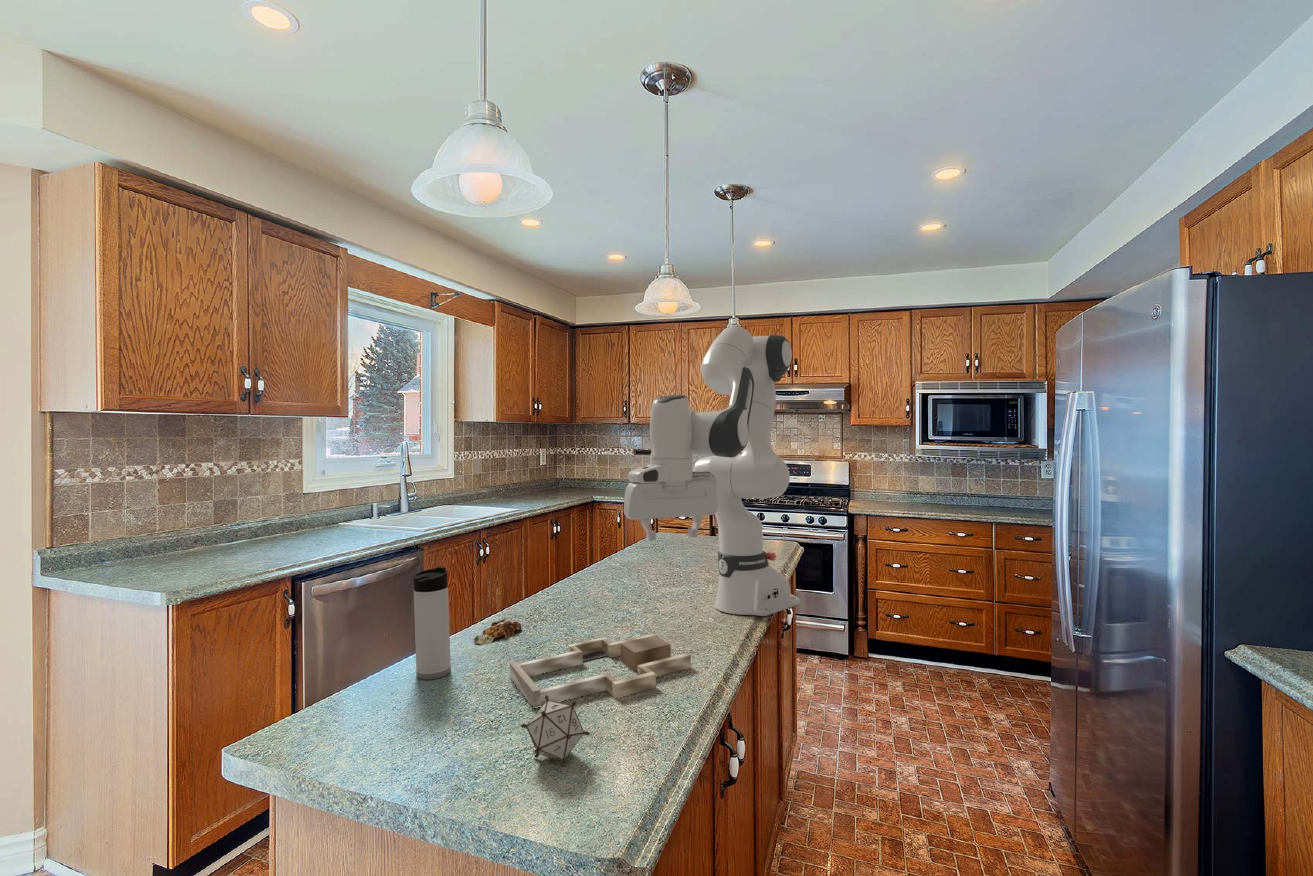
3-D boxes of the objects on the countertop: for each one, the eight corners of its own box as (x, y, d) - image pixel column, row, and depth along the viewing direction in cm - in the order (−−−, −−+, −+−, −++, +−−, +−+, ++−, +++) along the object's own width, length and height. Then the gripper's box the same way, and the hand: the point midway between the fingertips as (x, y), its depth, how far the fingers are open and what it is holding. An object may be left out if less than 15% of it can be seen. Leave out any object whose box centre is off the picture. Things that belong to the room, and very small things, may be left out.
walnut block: (656, 654, 122) (655, 635, 122) (670, 664, 117) (670, 644, 117) (621, 663, 118) (620, 643, 118) (635, 673, 113) (634, 652, 113)
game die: (546, 779, 85) (528, 708, 90) (601, 754, 86) (580, 685, 91) (526, 781, 77) (507, 703, 82) (586, 753, 78) (564, 678, 83)
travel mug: (458, 668, 117) (455, 567, 117) (436, 681, 111) (432, 575, 110) (432, 664, 119) (429, 565, 119) (409, 678, 113) (405, 573, 113)
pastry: (467, 644, 131) (467, 629, 131) (501, 627, 142) (500, 613, 142) (493, 648, 128) (492, 632, 128) (525, 630, 139) (524, 615, 139)
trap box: (645, 639, 130) (645, 625, 130) (702, 675, 111) (702, 659, 111) (504, 671, 115) (503, 656, 115) (541, 719, 95) (541, 700, 95)
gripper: (709, 470, 130) (710, 533, 130) (620, 473, 123) (621, 540, 122) (722, 471, 124) (723, 537, 124) (630, 474, 117) (631, 544, 117)
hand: (672, 538), depth 123 cm, fingers open, 8 cm apart
